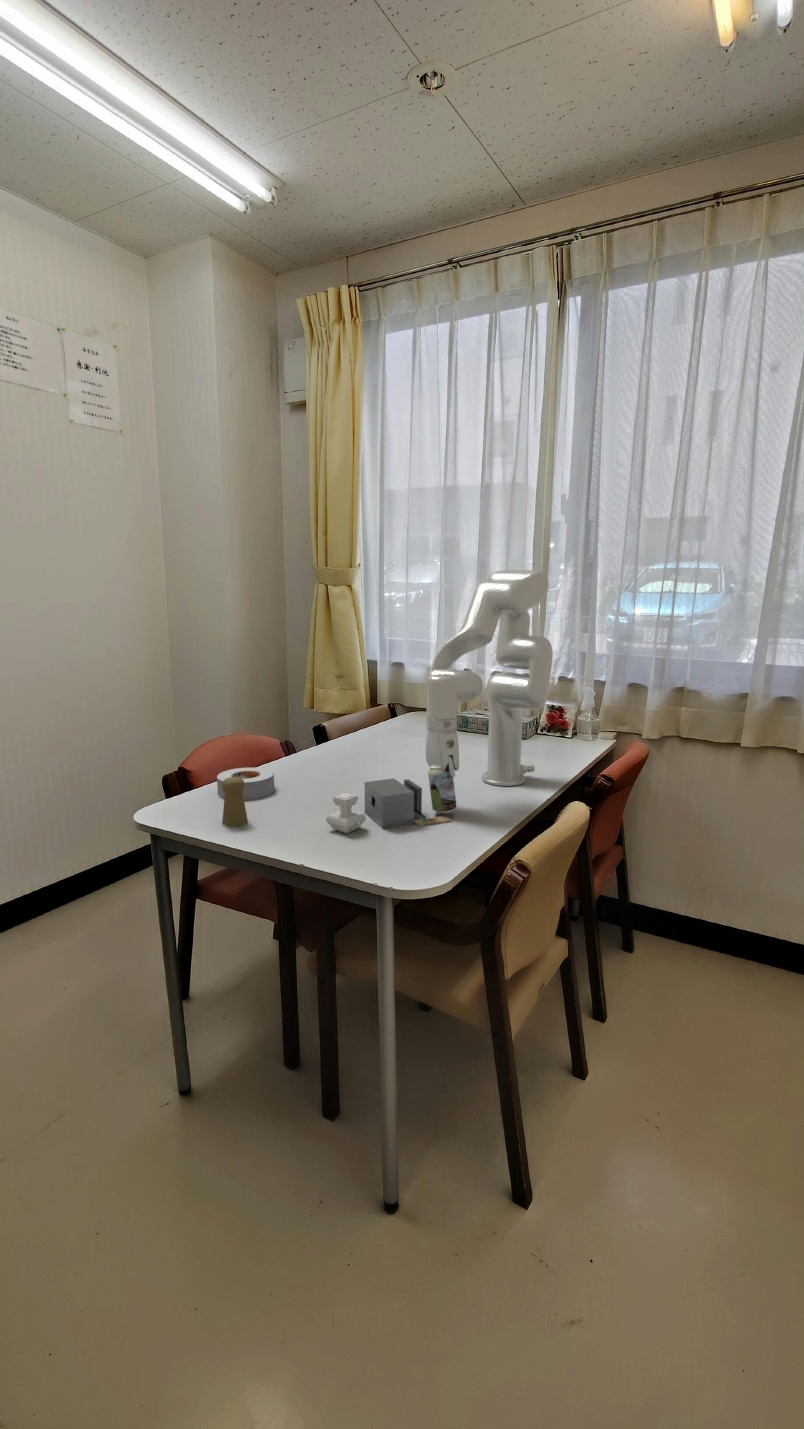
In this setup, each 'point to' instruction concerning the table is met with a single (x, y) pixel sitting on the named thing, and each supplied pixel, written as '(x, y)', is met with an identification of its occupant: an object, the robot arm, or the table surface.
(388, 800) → the block
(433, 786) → the beverage can
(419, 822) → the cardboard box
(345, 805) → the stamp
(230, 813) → the cork
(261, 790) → the tape roll
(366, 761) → the table surface
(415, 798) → the plunger
